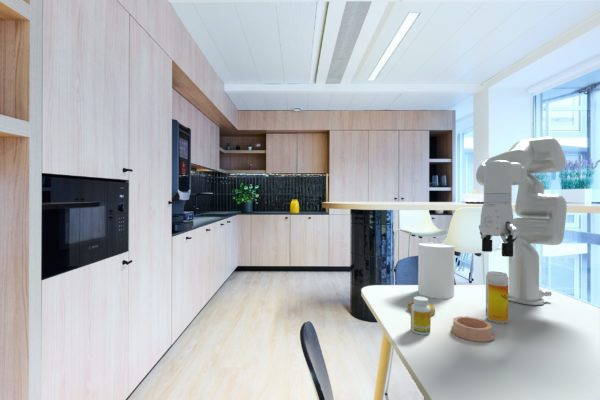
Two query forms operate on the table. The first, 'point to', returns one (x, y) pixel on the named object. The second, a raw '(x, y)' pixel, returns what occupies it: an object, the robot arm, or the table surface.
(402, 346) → the table surface
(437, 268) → the canister
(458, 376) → the table surface
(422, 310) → the supplement bottle
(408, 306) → the bread roll
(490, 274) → the beer can
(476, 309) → the table surface
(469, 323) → the jar base
